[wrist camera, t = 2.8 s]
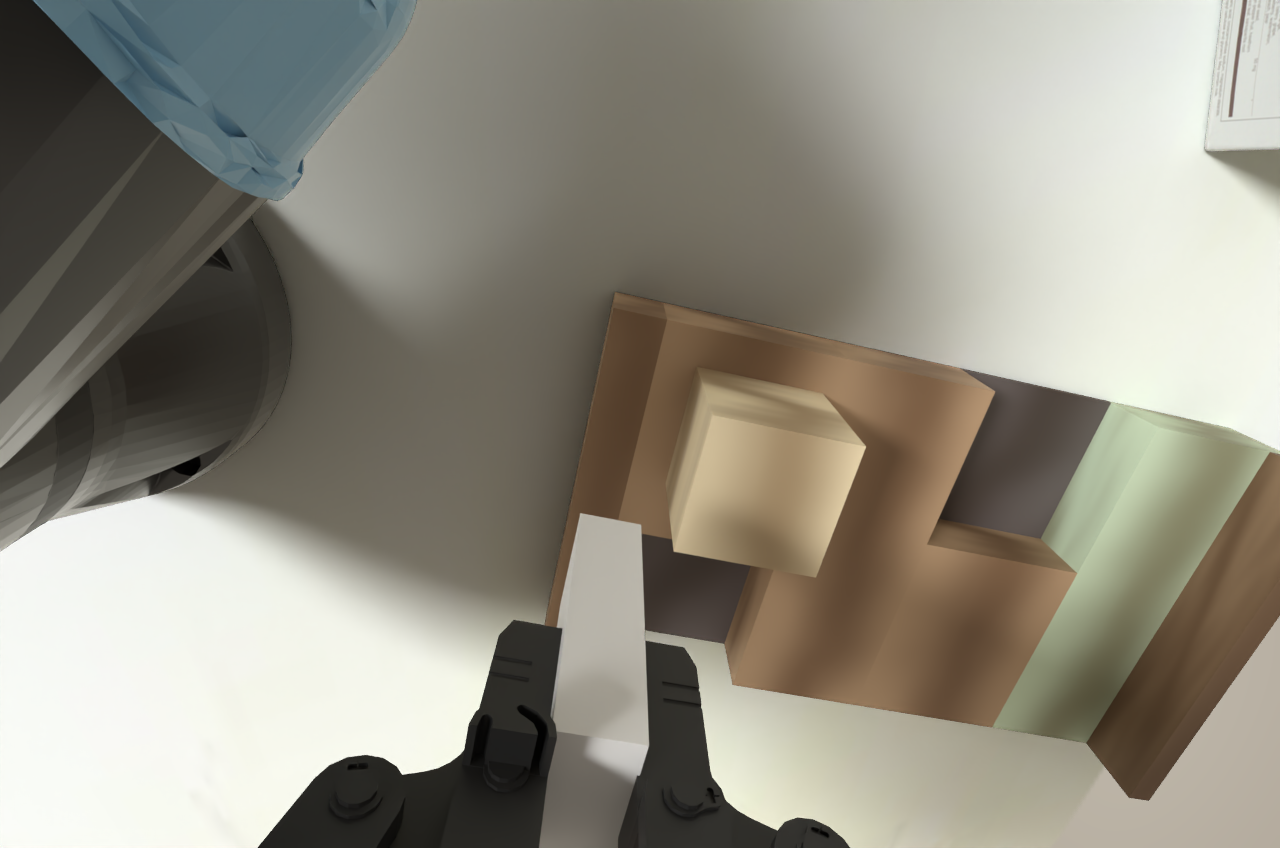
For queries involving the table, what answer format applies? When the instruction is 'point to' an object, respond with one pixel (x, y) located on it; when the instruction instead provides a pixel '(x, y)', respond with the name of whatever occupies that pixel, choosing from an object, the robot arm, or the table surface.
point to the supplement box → (1246, 78)
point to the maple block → (759, 473)
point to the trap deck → (958, 542)
